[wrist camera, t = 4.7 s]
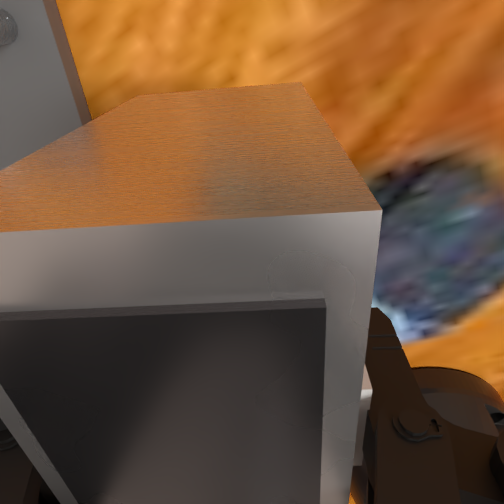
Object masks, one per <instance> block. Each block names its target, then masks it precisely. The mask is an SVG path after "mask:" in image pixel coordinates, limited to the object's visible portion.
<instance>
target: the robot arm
mask: <svg viewBox="0 0 504 504" xmlns="http://www.w3.org/2000/svg"><path fill="white" fill-rule="evenodd" d="M350 493H351V495H352V497H353V499H354V501H355V503H356V504H504V402H503V401H502V399H501V397H500V396H499V394H498V393H497V391H496V390H495V389H494V388H493V387H492V386H491V385H490V384H489V383H487V382H486V381H484V380H482V379H480V378H478V377H476V376H474V375H471V374H468V373H465V372H461V371H456V370H450V369H438V368H425V369H413V370H412V369H411V367H410V365H409V362H408V360H407V358H406V355H405V353H404V351H403V349H402V346H401V344H400V341H399V339H398V337H397V334H396V332H395V329H394V327H393V325H392V322H391V320H390V319H389V318H388V317H387V316H386V315H385V314H384V313H383V312H382V311H381V310H380V309H379V308H371V313H370V321H369V330H368V339H367V347H366V356H365V365H364V373H363V382H362V391H361V399H360V408H359V417H358V425H357V434H356V443H355V451H354V460H353V469H352V477H351V486H350ZM0 504H61V503H60V502H59V501H58V499H57V498H56V496H55V495H54V494H53V492H52V491H51V489H50V488H49V486H48V485H47V484H46V482H45V481H44V479H43V478H42V476H41V475H40V474H39V472H38V471H37V469H36V468H35V467H34V465H33V464H32V462H31V461H30V459H29V458H28V457H27V455H26V454H25V452H24V451H23V449H22V448H21V447H20V445H19V444H18V442H17V441H16V439H15V438H14V437H13V435H12V434H11V432H10V431H9V430H8V428H7V427H6V425H5V424H4V422H3V421H2V420H1V418H0Z"/></svg>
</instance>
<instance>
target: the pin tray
mask: <svg viewBox="0 0 504 504" xmlns="http://www.w3.org/2000/svg"><path fill="white" fill-rule="evenodd" d="M90 121H92V119H91V116H90V112H89V109H88V106H87V103H86V99H85V96H84V93H83V89H82V86H81V83H80V80H79V76H78V73H77V70H76V66H75V63H74V60H73V57H72V53H71V50H70V47H69V43H68V40H67V37H66V34H65V30H64V27H63V24H62V20H61V17H60V14H59V11H58V7H57V4H56V1H55V0H0V171H1V170H3V169H5V168H6V167H8V166H10V165H12V164H14V163H15V162H17V161H19V160H21V159H23V158H25V157H26V156H28V155H30V154H32V153H34V152H35V151H37V150H39V149H41V148H43V147H45V146H46V145H48V144H50V143H52V142H54V141H56V140H57V139H59V138H61V137H63V136H65V135H66V134H68V133H70V132H72V131H74V130H76V129H77V128H79V127H81V126H83V125H85V124H86V123H88V122H90Z"/></svg>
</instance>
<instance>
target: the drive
mask: <svg viewBox="0 0 504 504" xmlns="http://www.w3.org/2000/svg"><path fill="white" fill-rule="evenodd" d="M381 217H382V209H381V207H380V206H379V204H378V203H377V201H376V199H375V198H374V196H373V195H372V193H371V192H370V190H369V188H368V187H367V185H366V184H365V182H364V181H363V179H362V177H361V176H360V174H359V173H358V171H357V170H356V168H355V166H354V165H353V163H352V162H351V160H350V159H349V157H348V155H347V154H346V152H345V151H344V149H343V148H342V146H341V144H340V143H339V141H338V140H337V138H336V137H335V135H334V133H333V132H332V130H331V129H330V127H329V126H328V124H327V122H326V121H325V119H324V118H323V116H322V115H321V113H320V112H319V110H318V108H317V107H316V105H315V104H314V102H313V101H312V99H311V97H310V96H309V94H308V93H307V91H306V90H305V88H304V86H303V85H302V83H301V82H295V83H282V84H270V85H258V86H246V87H234V88H221V89H209V90H197V91H185V92H173V93H160V94H148V95H137V96H136V97H134V98H132V99H130V100H128V101H127V102H125V103H123V104H121V105H119V106H117V107H116V108H114V109H112V110H110V111H108V112H107V113H105V114H103V115H101V116H99V117H97V118H96V119H94V120H92V121H90V122H88V123H86V124H85V125H83V126H81V127H79V128H77V129H76V130H74V131H72V132H70V133H68V134H66V135H65V136H63V137H61V138H59V139H57V140H56V141H54V142H52V143H50V144H48V145H46V146H45V147H43V148H41V149H39V150H37V151H35V152H34V153H32V154H30V155H28V156H26V157H25V158H23V159H21V160H19V161H17V162H15V163H14V164H12V165H10V166H8V167H6V168H5V169H3V170H1V171H0V418H1V420H2V421H3V422H4V424H5V425H6V427H7V428H8V430H9V431H10V432H11V434H12V435H13V437H14V438H15V439H16V441H17V442H18V444H19V445H20V447H21V448H22V449H23V451H24V452H25V454H26V455H27V457H28V458H29V459H30V461H31V462H32V464H33V465H34V467H35V468H36V469H37V471H38V472H39V474H40V475H41V476H42V478H43V479H44V481H45V482H46V484H47V485H48V486H49V488H50V489H51V491H52V492H53V494H54V495H55V496H56V498H57V499H58V501H59V502H60V503H61V504H348V503H349V495H350V486H351V477H352V469H353V460H354V451H355V443H356V434H357V425H358V417H359V408H360V399H361V391H362V382H363V373H364V365H365V356H366V347H367V339H368V330H369V321H370V313H371V304H372V295H373V287H374V278H375V269H376V261H377V252H378V243H379V235H380V226H381Z"/></svg>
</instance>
